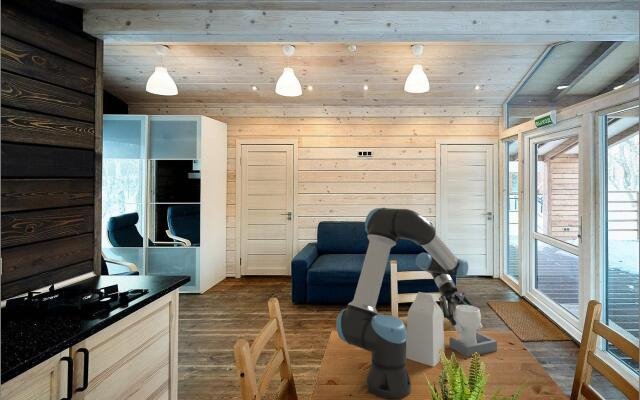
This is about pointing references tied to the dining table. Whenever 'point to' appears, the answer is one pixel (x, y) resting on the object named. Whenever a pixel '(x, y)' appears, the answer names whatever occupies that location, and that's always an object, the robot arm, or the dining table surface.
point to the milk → (424, 330)
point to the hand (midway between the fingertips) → (470, 330)
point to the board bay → (474, 345)
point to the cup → (467, 323)
